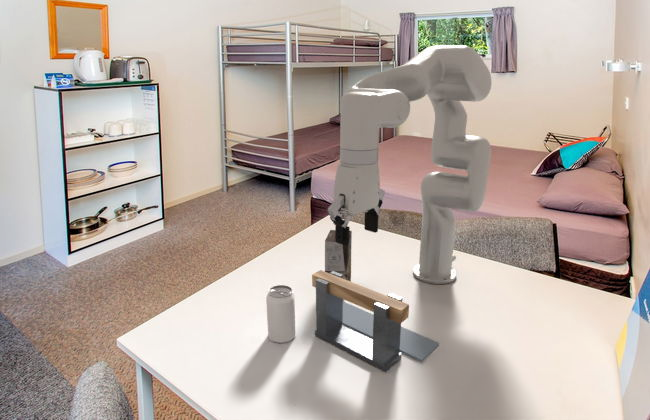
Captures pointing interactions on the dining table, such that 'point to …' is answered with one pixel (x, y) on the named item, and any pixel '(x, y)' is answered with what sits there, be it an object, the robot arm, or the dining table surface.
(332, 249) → the coffee box
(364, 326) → the mat
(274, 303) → the can
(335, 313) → the rail rack
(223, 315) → the dining table surface
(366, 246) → the dining table surface
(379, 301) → the rail
